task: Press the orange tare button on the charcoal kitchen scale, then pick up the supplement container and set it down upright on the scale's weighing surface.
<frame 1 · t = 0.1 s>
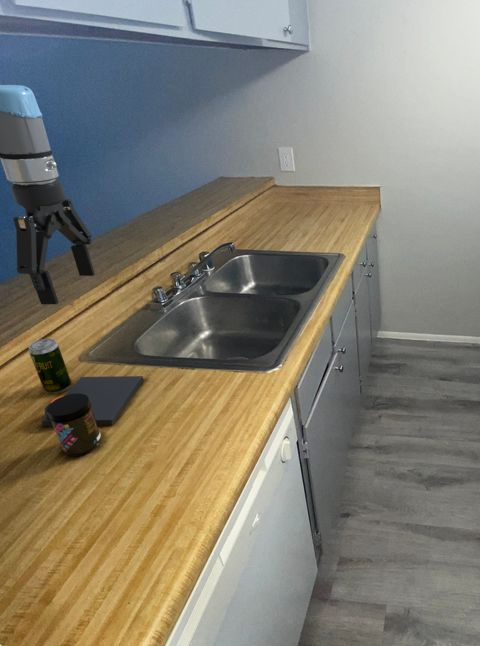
hand: (69, 288, 94), 28 cm above the worktop, tool pointing down, fingers open, 13 cm apart
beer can: (58, 388, 111), on the worktop
tare button: (61, 403, 100), point 4 cm above the worktop, slide at 0.1 cm
supplement container: (83, 446, 95), on the worktop
kitchen scale: (96, 401, 107), on the worktop
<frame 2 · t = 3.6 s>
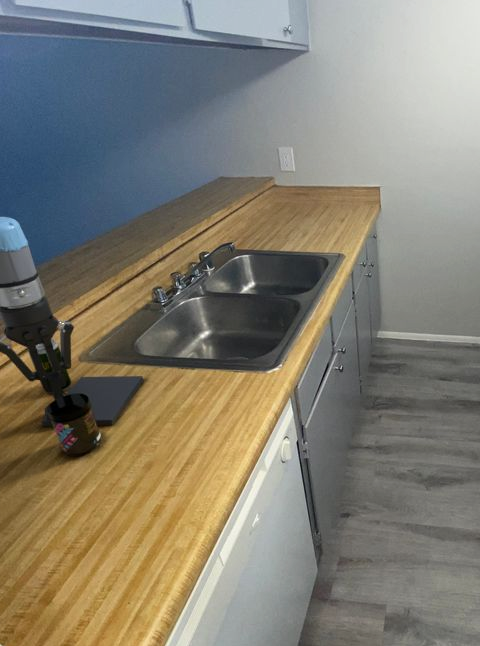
hand: (60, 400, 100), 4 cm above the worktop, tool pointing down, fingers closed
tare button: (61, 404, 100), point 3 cm above the worktop, slide at -0.1 cm, touching gripper
everything else where it was.
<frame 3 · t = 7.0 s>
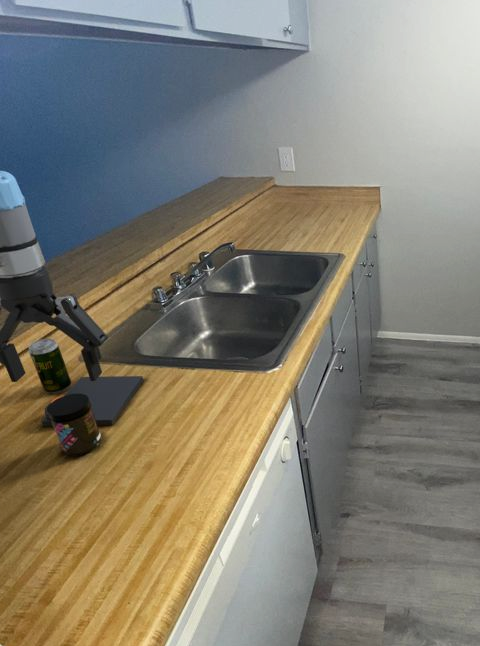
hand: (58, 377, 87), 17 cm above the worktop, tool pointing down, fingers open, 13 cm apart
tare button: (61, 403, 100), point 4 cm above the worktop, slide at 0.1 cm
everything else where it was.
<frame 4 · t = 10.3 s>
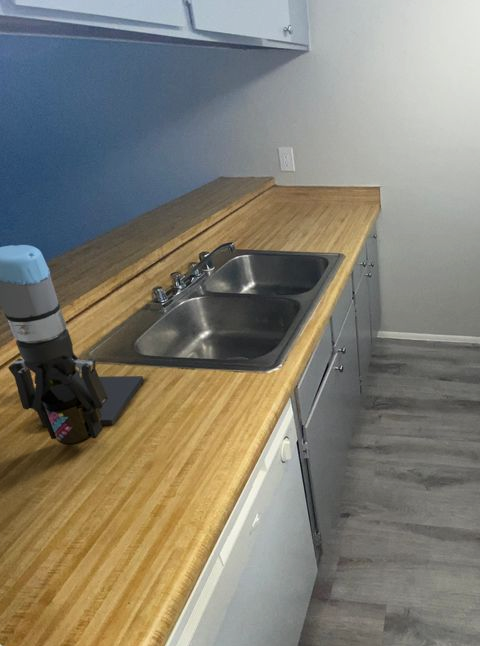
hand: (77, 433, 93), 3 cm above the worktop, tool pointing down, fingers closed on supplement container, 7 cm apart
supplement container: (78, 435, 93), point 2 cm above the worktop, touching gripper
everything else where it was.
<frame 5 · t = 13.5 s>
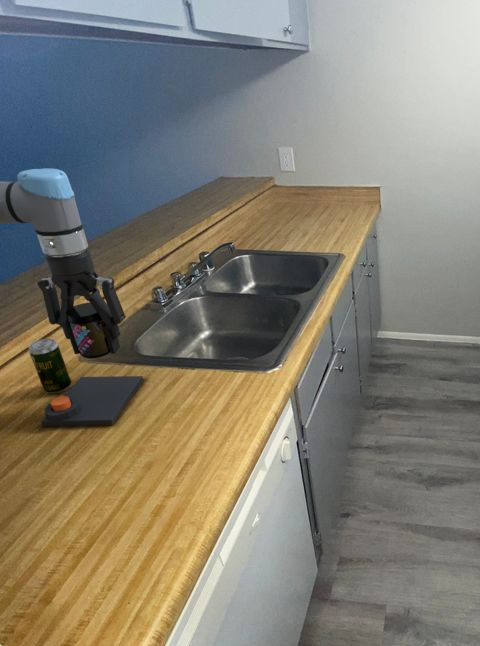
hand: (97, 350, 103), 12 cm above the worktop, tool pointing down, fingers closed on supplement container, 7 cm apart
supplement container: (98, 352, 104), point 12 cm above the worktop, touching gripper
everything else where it was.
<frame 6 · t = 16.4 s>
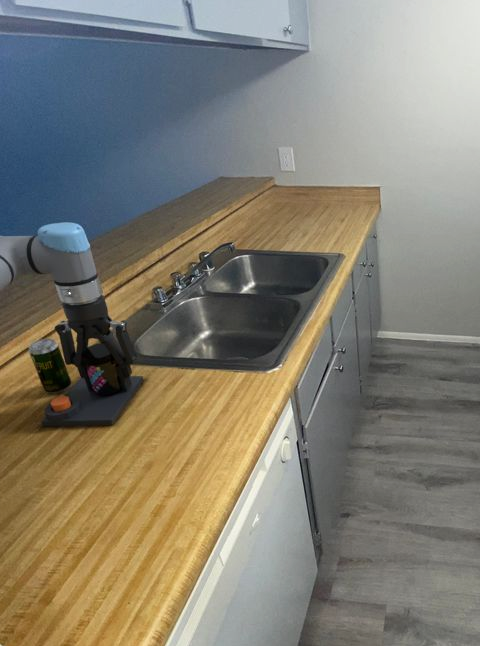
hand: (110, 387, 109), 2 cm above the worktop, tool pointing down, fingers closed on supplement container, 7 cm apart
supplement container: (111, 389, 109), point 1 cm above the worktop, touching gripper, kitchen scale
everything else where it was.
when the fingers open (2 cm above the worktop, at t = 16.7 s): supplement container stays where it is, resting on kitchen scale.
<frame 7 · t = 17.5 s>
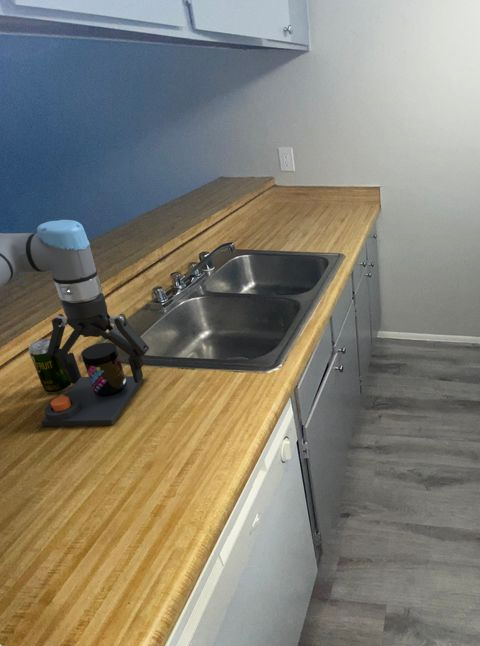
hand: (108, 380, 108), 4 cm above the worktop, tool pointing down, fingers open, 13 cm apart
supplement container: (111, 389, 109), point 1 cm above the worktop, touching kitchen scale
everything else where it was.
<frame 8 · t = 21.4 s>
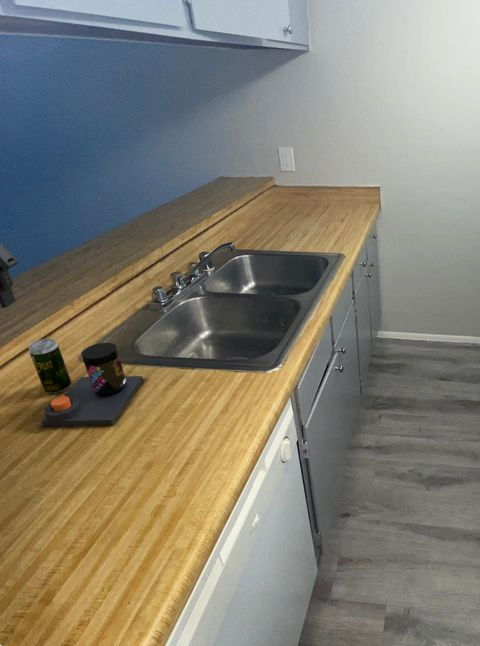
nothing on the worktop moved.
at the end: tare button pushed in 0.8 cm at the most during the clip, back to where it started at the end; supplement container inside the target area on the kitchen scale (2.5 cm from its centre), point 1.2 cm above the kitchen scale's base; supplement container tilted 0° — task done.
